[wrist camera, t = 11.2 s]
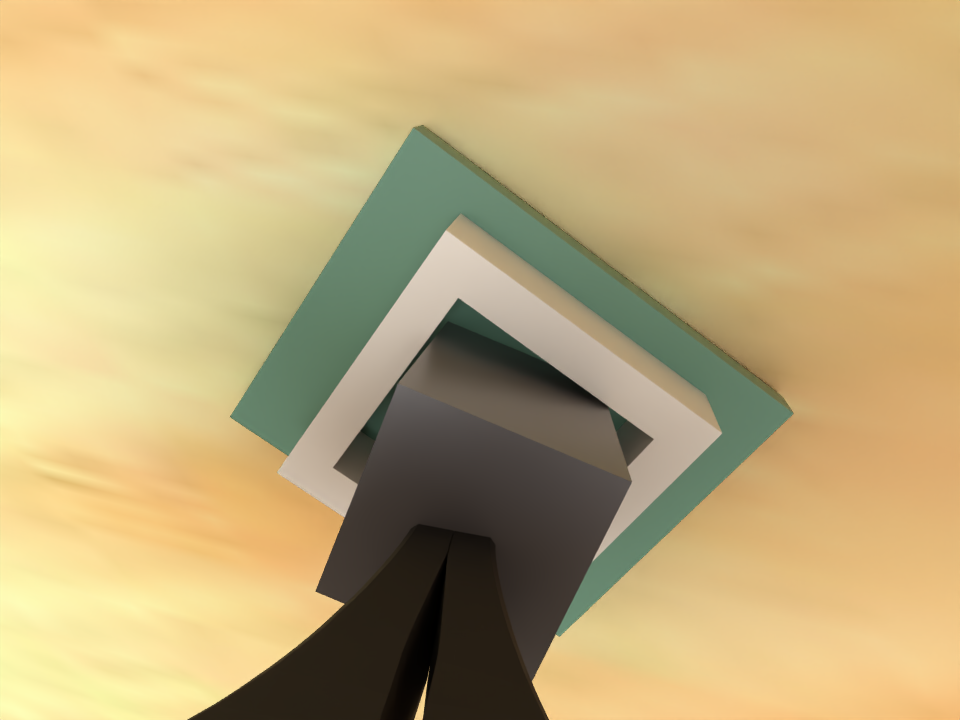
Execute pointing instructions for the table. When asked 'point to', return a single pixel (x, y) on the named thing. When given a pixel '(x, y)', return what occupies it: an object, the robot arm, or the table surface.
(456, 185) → the board
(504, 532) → the plug
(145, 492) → the table surface
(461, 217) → the frame
